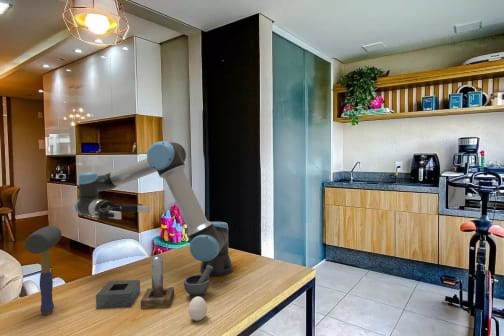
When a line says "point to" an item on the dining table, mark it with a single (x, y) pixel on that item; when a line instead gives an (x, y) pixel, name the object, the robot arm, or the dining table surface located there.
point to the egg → (197, 308)
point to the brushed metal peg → (157, 276)
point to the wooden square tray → (157, 299)
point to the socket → (118, 294)
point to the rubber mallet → (44, 261)
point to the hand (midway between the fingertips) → (135, 212)
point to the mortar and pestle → (198, 284)
